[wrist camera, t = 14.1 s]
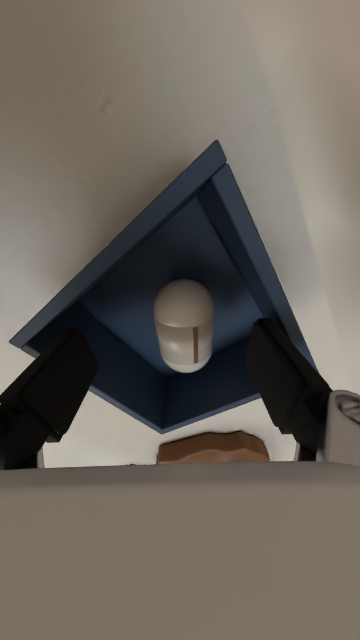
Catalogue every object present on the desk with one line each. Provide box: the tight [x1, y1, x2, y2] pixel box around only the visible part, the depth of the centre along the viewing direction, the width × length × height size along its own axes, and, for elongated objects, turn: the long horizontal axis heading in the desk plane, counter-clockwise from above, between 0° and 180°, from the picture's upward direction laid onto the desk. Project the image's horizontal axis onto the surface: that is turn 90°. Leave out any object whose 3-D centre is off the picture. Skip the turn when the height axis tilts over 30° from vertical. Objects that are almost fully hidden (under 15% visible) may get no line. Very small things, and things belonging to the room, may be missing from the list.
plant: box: [156, 431, 269, 464], centre depth 25 cm, size 20×20×11 cm
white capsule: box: [153, 279, 215, 373], centre depth 12 cm, size 7×4×4 cm, turn 3°
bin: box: [9, 140, 319, 434], centre depth 11 cm, size 12×12×6 cm
